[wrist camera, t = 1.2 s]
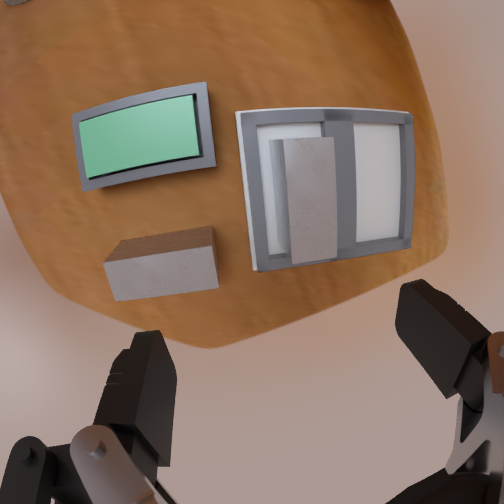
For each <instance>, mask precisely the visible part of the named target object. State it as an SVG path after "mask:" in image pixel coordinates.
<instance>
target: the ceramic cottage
mask: <svg viewBox="0 0 504 504" xmlns="http://www.w3.org/2000/svg"><path fill="white" fill-rule="evenodd" d="M3 1H5V2H6V3H7V4H8V5H17V4H21V3H24V2H26V1H28V0H3Z"/></svg>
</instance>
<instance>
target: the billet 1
mask: <svg viewBox="0 0 504 504" xmlns="http://www.w3.org/2000/svg"><path fill="white" fill-rule="evenodd" d="M103 265H104V268H105V271H106V274H107V278H108V281H109V283H110V286H111V289H112V292H113V295H114V298H115V301H124V300H133V299H141V298H149V297H157V296H165V295H172V294H180V293H187V292H195V291H202V290H209V289H216V288H219V261H218V255H217V250H216V244H215V238H214V232H213V226H206V227H200V228H193V229H187V230H181V231H175V232H169V233H163V234H157V235H151V236H145V237H139V238H133V239H128V240H122V241H121V242H120V243H119V244H118V245H117V247H116V248H115V249H114V250H113V251H112V252H111V254H110V255H109V256H108V257H107V258H106V260H105V261H104V262H103Z"/></svg>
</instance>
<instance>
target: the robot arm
mask: <svg viewBox="0 0 504 504" xmlns="http://www.w3.org/2000/svg"><path fill="white" fill-rule="evenodd" d="M395 326H396V331H397V334H398V336H399V337H400V338H401V340H402V341H403V342H404V343H405V345H406V346H407V347H408V348H409V350H410V351H411V352H412V354H413V355H414V356H415V358H416V359H417V360H418V362H419V363H420V364H421V365H422V367H423V368H424V369H425V371H426V372H427V373H428V374H429V376H430V377H431V379H432V380H433V381H434V383H435V384H436V385H437V387H438V388H439V390H440V391H441V392H442V394H443V395H444V396H445V398H446V399H447V398H449V397H451V396H453V395H455V394H457V393H459V394H460V395H461V397H460V399H459V401H458V410H457V423H456V431H455V440H454V447H453V451H452V454H451V456H450V458H449V460H448V462H447V464H446V467H445V468H443V469H441V470H440V471H438V472H436V473H434V474H433V475H431V476H429V477H427V478H425V479H424V480H421V481H420V482H417V483H415V484H413V485H411V486H409V487H408V488H406V489H405V490H404V491H402V492H401V493H400V494H398V495H397V496H396V497H395V498H393V499H392V500H390V501H389V502H387V503H386V504H504V332H495V333H493V334H492V333H491V332H489V331H488V330H487V329H486V328H485V327H484V326H483V325H482V324H481V323H480V322H478V320H476V319H475V318H474V317H473V316H472V315H471V314H470V313H468V312H467V311H465V309H464V308H463V307H461V305H459V304H457V302H456V301H455V300H454V299H452V298H451V297H450V296H449V295H447V294H445V293H443V292H441V291H439V290H436V289H435V288H433V287H432V286H431V285H430V284H429V283H427V282H426V281H425V280H423V279H419V280H415V281H412V282H408V283H404V284H403V285H402V286H401V288H400V294H399V300H398V308H397V313H396V319H395ZM176 386H177V375H176V369H175V366H174V363H173V361H172V359H171V356H170V354H169V351H168V349H167V346H166V343H165V341H164V338H163V336H162V334H161V332H160V331H159V330H154V331H145V332H137V333H135V335H134V338H133V340H132V343H131V347H130V349H123V350H122V352H121V353H120V354H119V355H118V356H117V358H116V359H115V360H114V362H113V364H112V367H111V370H110V375H109V376H108V379H107V382H106V386H105V387H104V390H103V394H102V397H101V400H100V403H99V406H98V409H97V412H96V416H95V419H94V423H93V425H91V426H87V427H85V428H83V429H82V430H80V431H79V432H78V433H77V434H76V435H75V436H74V438H73V439H72V442H71V443H70V444H65V445H59V446H53V447H47V446H46V445H45V444H44V443H43V442H42V441H41V440H40V439H38V438H36V437H33V436H27V437H24V438H22V439H20V440H19V441H18V442H16V443H15V445H14V446H13V448H12V450H11V453H10V456H9V459H8V462H7V466H6V469H5V473H4V476H3V480H2V484H1V488H0V504H50V503H51V498H53V499H54V500H55V504H179V503H178V502H177V501H176V500H175V499H174V498H173V497H172V495H171V494H170V493H169V492H168V490H167V489H166V488H165V487H164V486H163V484H162V483H161V482H160V481H159V479H158V478H157V467H158V466H160V467H170V458H171V443H172V429H173V417H174V405H175V395H176Z"/></svg>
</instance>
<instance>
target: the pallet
mask: <svg viewBox="0 0 504 504" xmlns="http://www.w3.org/2000/svg"><path fill="white" fill-rule="evenodd" d="M235 120H236V129H237V138H238V147H239V156H240V165H241V174H242V182H243V191H244V200H245V209H246V218H247V227H248V235H249V244H250V253H251V262H252V268H253V271H254V270H258V272H265V271H272V270H278V269H285V268H292V267H298V266H305V265H311V264H317V263H324V262H330V261H336V260H342V259H348V258H355V257H361V256H367V255H372V254H378V253H384V252H390V251H396V250H402V249H407V248H411V239H412V227H413V213H414V190H415V149H414V127H413V114H409V112H404V111H394V110H383V109H368V108H346V107H297V108H274V109H260V110H248V111H237V112H235ZM303 137H334V151H335V168H336V193H337V257H335V258H329V259H322V260H316V261H310V262H303V263H296V264H292V263H291V262H290V260H289V258H288V256H287V255H286V253H285V251H284V250H283V248H282V246H281V245H280V243H279V241H278V237H277V224H276V212H275V200H274V189H273V178H272V167H271V156H270V146H269V140H273V139H286V138H303Z"/></svg>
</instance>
